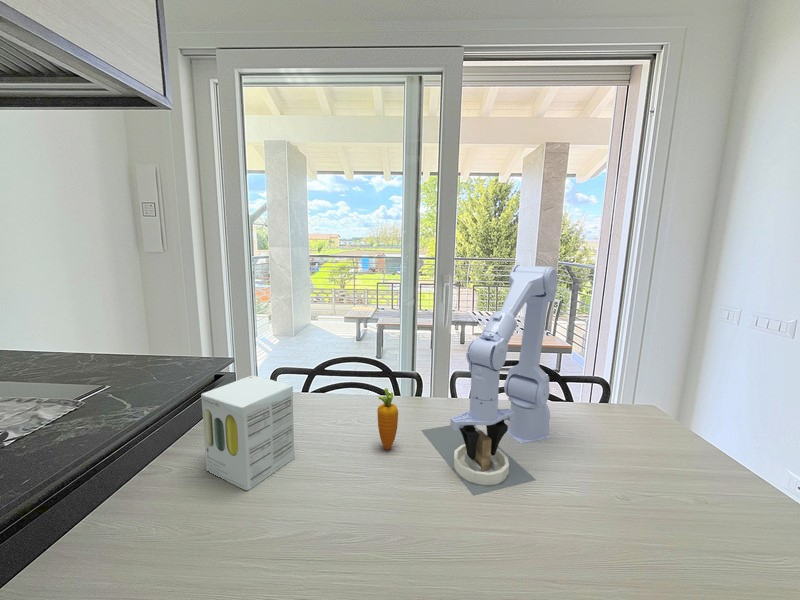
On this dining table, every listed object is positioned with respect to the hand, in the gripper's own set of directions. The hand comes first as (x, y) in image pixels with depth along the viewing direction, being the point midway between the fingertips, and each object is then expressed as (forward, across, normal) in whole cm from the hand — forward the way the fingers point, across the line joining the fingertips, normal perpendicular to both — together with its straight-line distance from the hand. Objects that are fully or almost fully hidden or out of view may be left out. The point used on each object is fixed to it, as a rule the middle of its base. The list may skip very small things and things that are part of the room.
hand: (481, 455), depth 75 cm
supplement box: (+4, +47, -18) cm, 50 cm away
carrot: (+4, +17, -14) cm, 22 cm away
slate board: (+4, -2, -6) cm, 7 cm away
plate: (+3, 0, 0) cm, 3 cm away
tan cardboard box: (+2, 0, 0) cm, 2 cm away
